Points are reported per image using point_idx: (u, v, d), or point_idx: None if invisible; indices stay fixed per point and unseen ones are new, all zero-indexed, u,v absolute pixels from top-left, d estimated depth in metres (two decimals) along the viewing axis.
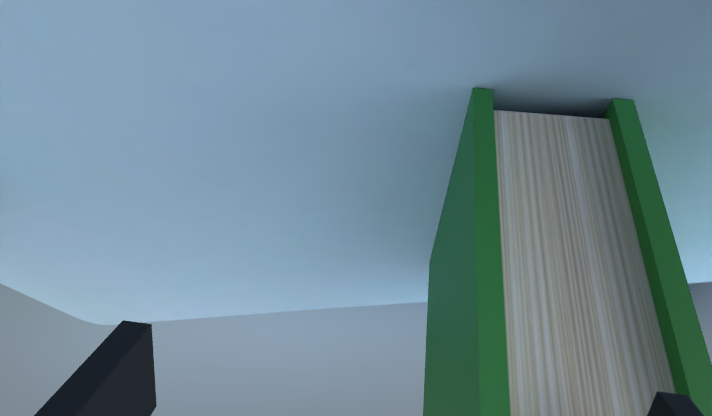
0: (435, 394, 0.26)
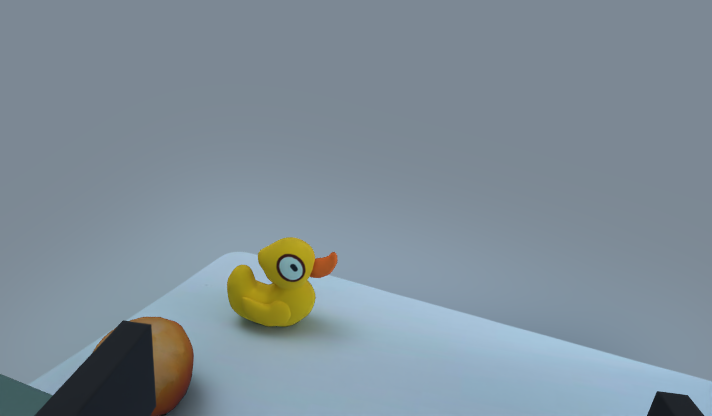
0: None
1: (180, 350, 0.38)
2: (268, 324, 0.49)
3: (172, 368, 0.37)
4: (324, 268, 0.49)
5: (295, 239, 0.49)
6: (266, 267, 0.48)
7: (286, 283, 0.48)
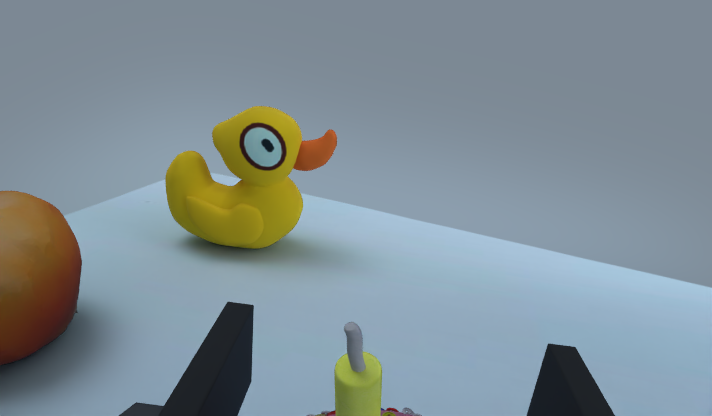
0: None
1: (41, 239, 0.20)
2: (228, 241, 0.32)
3: (17, 268, 0.19)
4: (316, 153, 0.31)
5: (271, 107, 0.31)
6: (224, 147, 0.30)
7: (256, 173, 0.30)
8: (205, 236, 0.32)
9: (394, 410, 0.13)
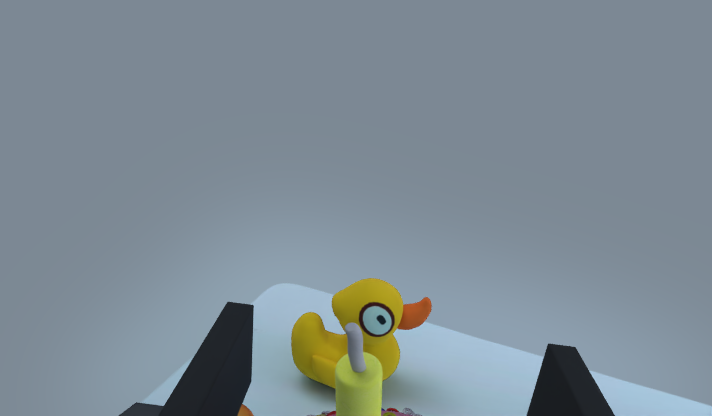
0: None
1: None
2: None
3: None
4: (416, 318, 0.39)
5: (379, 281, 0.39)
6: (345, 319, 0.38)
7: (370, 339, 0.38)
8: (323, 382, 0.40)
9: (395, 410, 0.13)
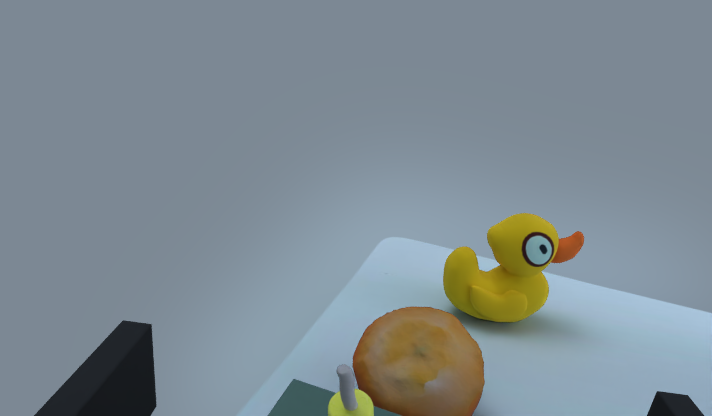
0: None
1: (479, 349, 0.29)
2: (499, 319, 0.40)
3: (479, 374, 0.28)
4: (570, 251, 0.40)
5: (534, 215, 0.40)
6: (506, 249, 0.39)
7: (529, 269, 0.39)
8: (475, 314, 0.41)
9: None
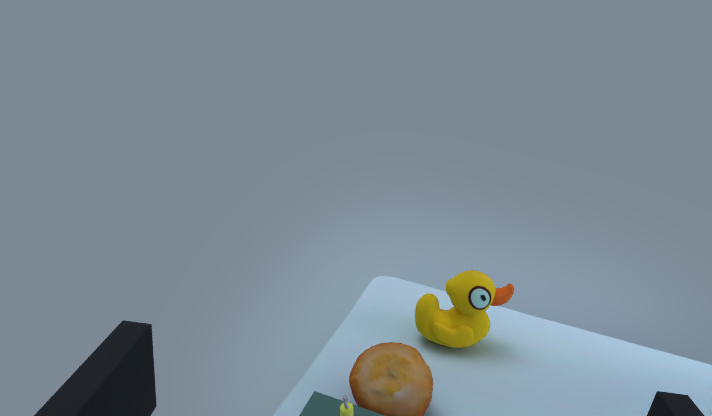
0: None
1: (429, 371, 0.45)
2: (454, 346, 0.57)
3: (428, 387, 0.44)
4: (504, 298, 0.57)
5: (479, 272, 0.57)
6: (457, 297, 0.55)
7: (474, 311, 0.56)
8: (437, 342, 0.58)
9: None
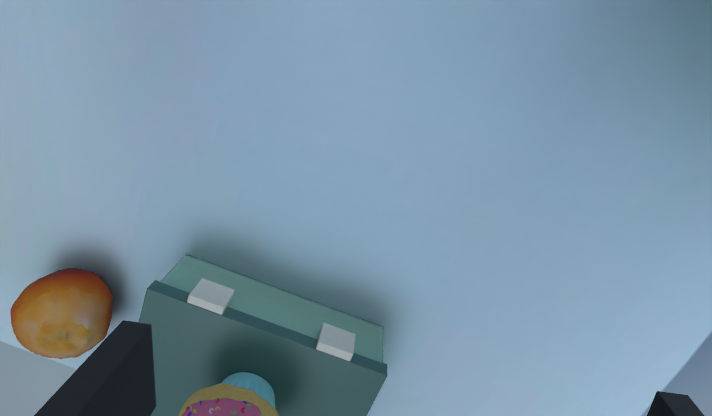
0: None
1: (46, 296, 0.40)
2: None
3: (67, 295, 0.41)
4: None
5: None
6: None
7: None
8: None
9: None
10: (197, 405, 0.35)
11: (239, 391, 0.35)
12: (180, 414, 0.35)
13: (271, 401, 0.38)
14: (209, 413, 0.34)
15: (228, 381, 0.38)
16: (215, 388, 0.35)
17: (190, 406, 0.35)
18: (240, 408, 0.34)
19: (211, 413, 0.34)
